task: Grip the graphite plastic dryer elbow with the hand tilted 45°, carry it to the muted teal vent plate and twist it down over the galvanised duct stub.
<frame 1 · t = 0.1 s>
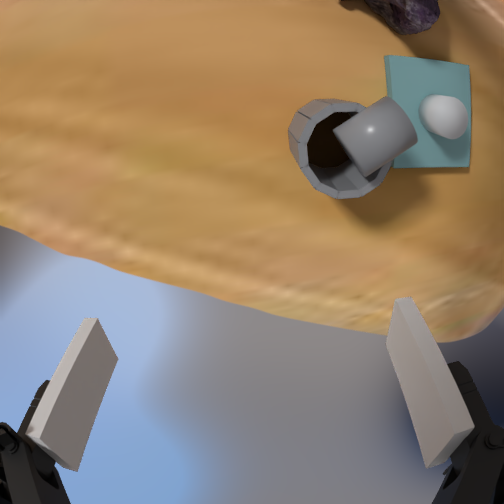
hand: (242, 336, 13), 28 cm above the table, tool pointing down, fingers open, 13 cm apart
vent plate: (429, 112, 33), on the table
elbow: (327, 136, 36), on the table
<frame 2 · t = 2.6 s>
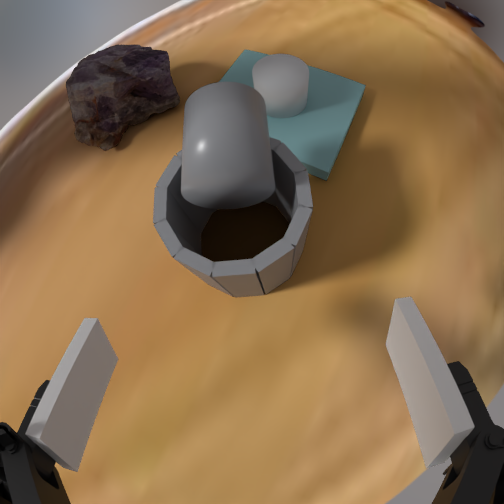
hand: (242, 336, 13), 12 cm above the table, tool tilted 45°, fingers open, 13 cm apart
rock: (133, 111, 32), on the table
vent plate: (281, 108, 30), on the table
elbow: (246, 241, 27), on the table
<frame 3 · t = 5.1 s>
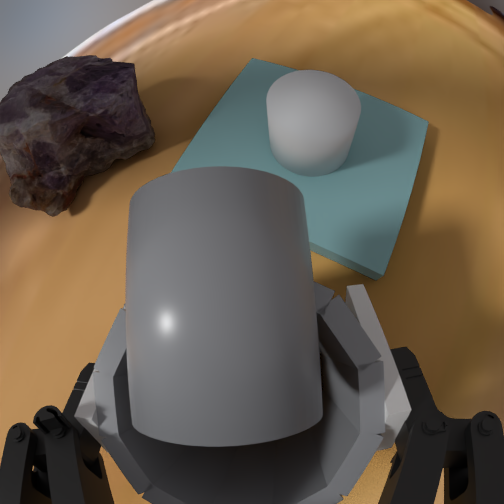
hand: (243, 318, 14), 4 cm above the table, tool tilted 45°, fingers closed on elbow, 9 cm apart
rock: (93, 152, 23), on the table
vent plate: (308, 154, 21), on the table
elbow: (255, 377, 17), on the table, touching gripper
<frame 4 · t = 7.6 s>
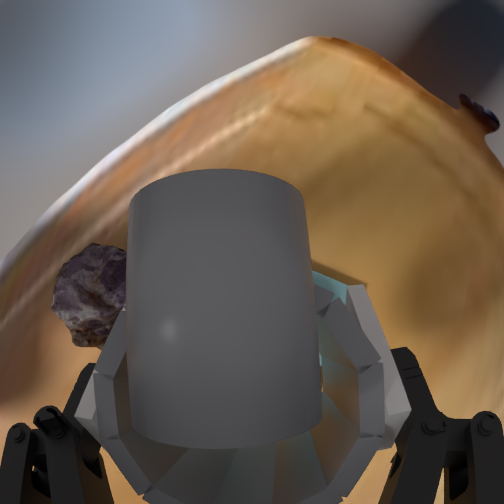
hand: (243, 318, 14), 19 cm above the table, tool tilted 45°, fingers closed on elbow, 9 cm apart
rock: (121, 299, 35), on the table
vent plate: (266, 316, 33), on the table
elbow: (254, 378, 17), point 15 cm above the table, touching gripper
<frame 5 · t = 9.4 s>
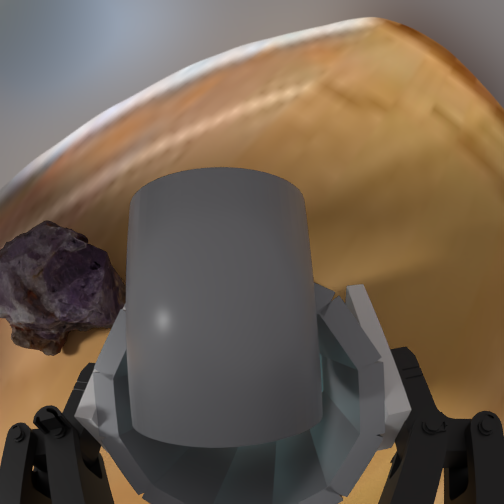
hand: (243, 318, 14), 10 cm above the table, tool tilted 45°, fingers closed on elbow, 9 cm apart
rock: (80, 296, 26), on the table
elbow: (255, 378, 17), point 6 cm above the table, touching gripper
when the fingers open (7 cm above the table, at t = 10.5 s): elbow drops 1 cm, resting on vent plate.
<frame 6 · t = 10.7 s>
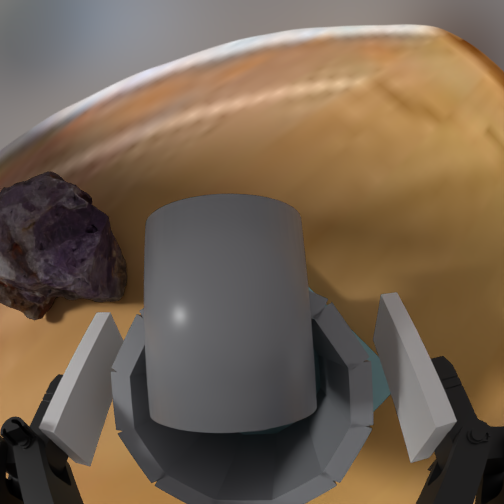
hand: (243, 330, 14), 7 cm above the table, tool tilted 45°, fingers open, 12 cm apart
rock: (75, 262, 23), on the table
vent plate: (258, 372, 20), on the table
elbow: (256, 376, 18), point 1 cm above the table, touching vent plate
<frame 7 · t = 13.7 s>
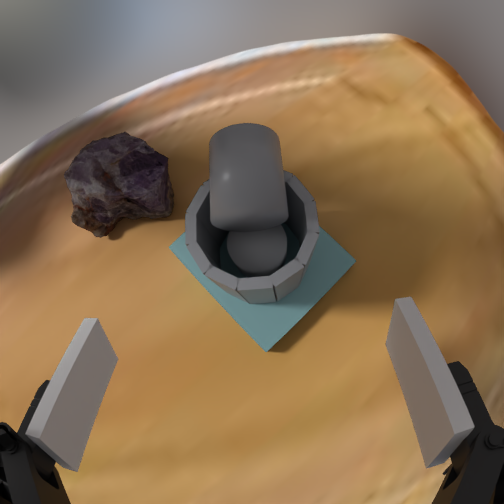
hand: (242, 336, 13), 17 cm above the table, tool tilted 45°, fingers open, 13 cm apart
rock: (133, 197, 36), on the table
vent plate: (261, 257, 32), on the table
elbow: (259, 254, 31), point 1 cm above the table, touching vent plate
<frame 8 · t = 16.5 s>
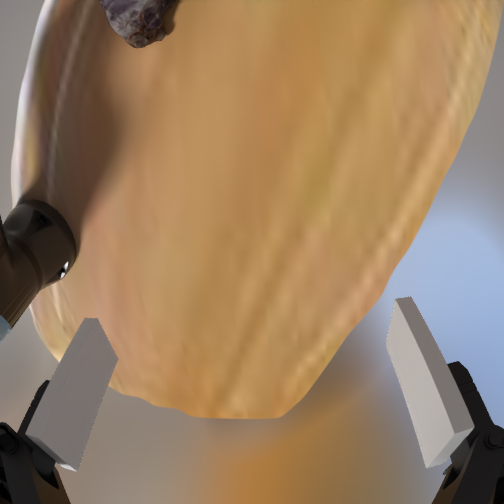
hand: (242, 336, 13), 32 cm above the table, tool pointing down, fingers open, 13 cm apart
rock: (151, 4, 30), on the table
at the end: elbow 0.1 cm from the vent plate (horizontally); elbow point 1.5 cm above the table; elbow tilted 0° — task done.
